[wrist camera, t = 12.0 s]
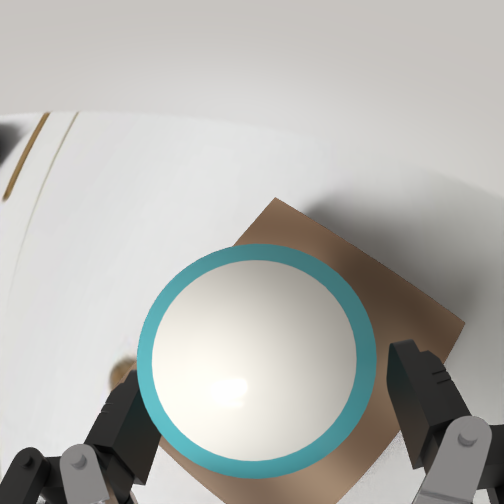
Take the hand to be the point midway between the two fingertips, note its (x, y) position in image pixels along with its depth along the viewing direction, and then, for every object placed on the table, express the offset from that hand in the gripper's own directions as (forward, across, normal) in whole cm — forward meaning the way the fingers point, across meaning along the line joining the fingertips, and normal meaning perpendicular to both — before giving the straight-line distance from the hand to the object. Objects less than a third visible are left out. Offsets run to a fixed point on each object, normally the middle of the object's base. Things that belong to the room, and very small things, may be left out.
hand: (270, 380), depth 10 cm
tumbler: (+5, 0, +4) cm, 6 cm away
